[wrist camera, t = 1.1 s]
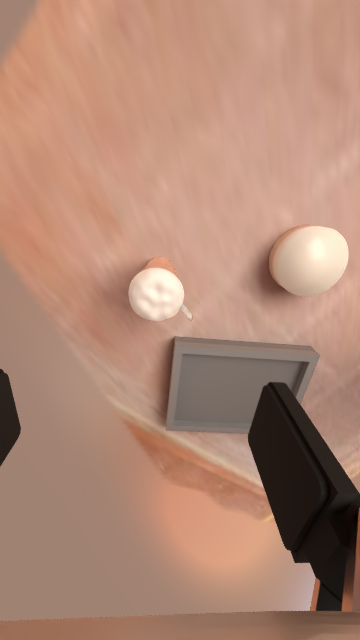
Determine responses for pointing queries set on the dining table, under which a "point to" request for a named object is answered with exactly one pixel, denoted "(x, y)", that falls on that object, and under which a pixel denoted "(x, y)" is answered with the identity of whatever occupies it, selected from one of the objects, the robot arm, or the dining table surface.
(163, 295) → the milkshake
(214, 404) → the grey tray
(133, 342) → the dining table surface
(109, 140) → the dining table surface
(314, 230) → the cream domed disc
